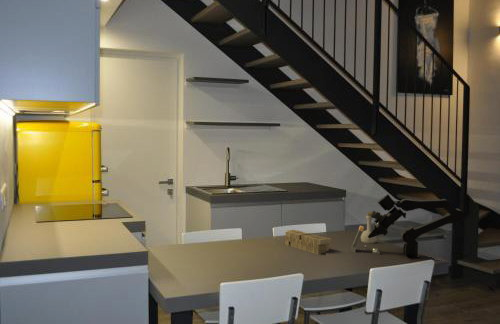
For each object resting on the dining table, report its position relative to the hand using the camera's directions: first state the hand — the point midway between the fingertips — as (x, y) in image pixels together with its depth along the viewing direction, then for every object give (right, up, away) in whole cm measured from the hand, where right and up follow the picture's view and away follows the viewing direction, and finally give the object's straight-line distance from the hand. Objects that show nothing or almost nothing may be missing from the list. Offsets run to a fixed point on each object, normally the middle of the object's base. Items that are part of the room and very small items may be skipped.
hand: (368, 237), depth 268 cm
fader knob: (0, -7, +5) cm, 9 cm away
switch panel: (-2, -9, +1) cm, 9 cm away
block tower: (-31, -8, +9) cm, 33 cm away
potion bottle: (+6, -7, +25) cm, 27 cm away
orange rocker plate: (-8, -6, +2) cm, 10 cm away
